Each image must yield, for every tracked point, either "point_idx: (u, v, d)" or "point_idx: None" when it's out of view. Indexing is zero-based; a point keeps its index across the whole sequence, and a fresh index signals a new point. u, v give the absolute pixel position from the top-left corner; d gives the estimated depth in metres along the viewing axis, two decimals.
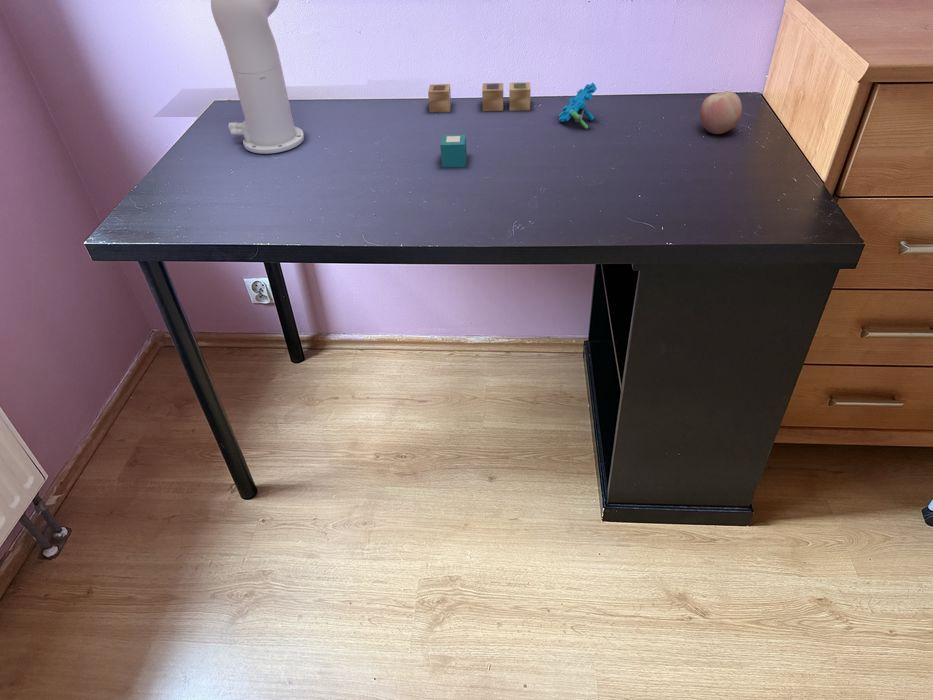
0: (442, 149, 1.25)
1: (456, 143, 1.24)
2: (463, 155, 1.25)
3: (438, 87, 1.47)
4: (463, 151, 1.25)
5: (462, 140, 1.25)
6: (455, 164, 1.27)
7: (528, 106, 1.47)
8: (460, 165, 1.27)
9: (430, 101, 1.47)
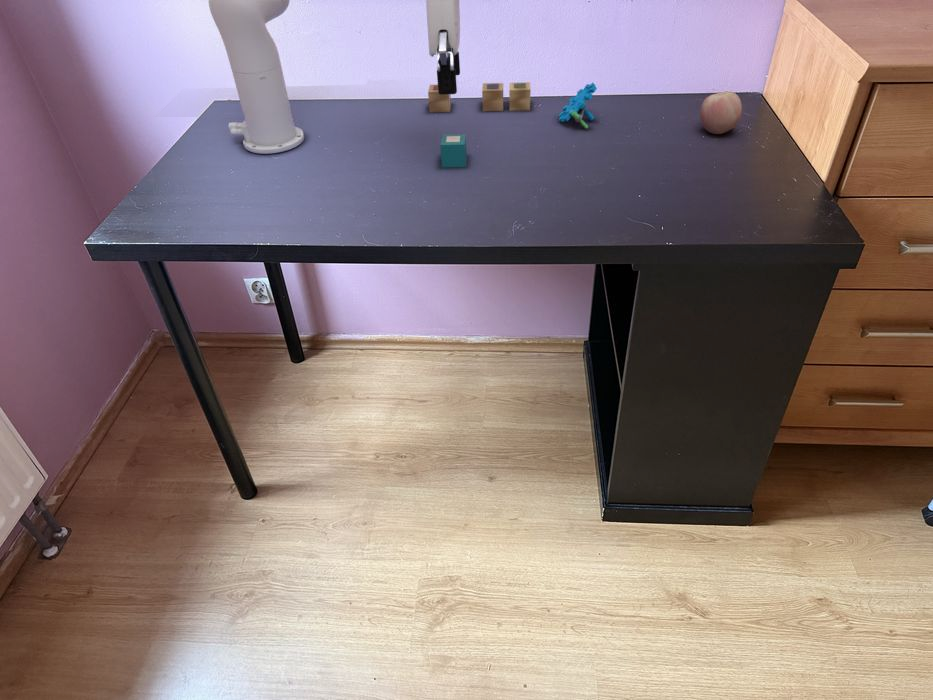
0: (442, 149, 1.25)
1: (456, 143, 1.24)
2: (463, 155, 1.25)
3: None
4: (463, 151, 1.25)
5: (462, 140, 1.25)
6: (455, 164, 1.27)
7: (528, 106, 1.47)
8: (460, 165, 1.27)
9: (430, 101, 1.47)
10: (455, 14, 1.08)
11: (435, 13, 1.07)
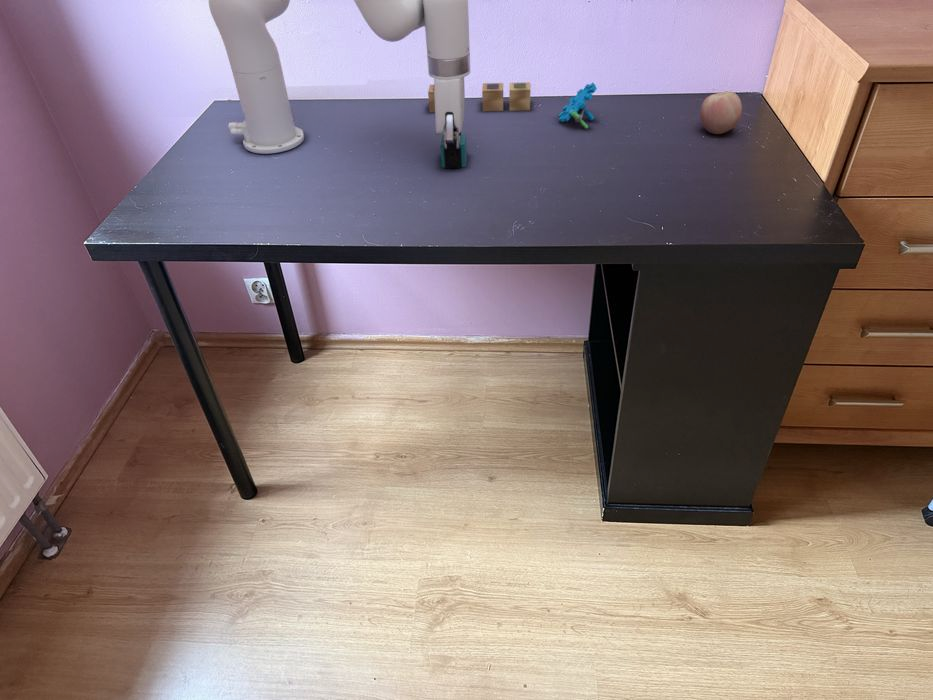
0: (442, 149, 1.25)
1: None
2: (463, 155, 1.25)
3: None
4: (463, 151, 1.25)
5: (462, 140, 1.25)
6: None
7: (528, 106, 1.47)
8: None
9: (430, 101, 1.47)
10: (461, 98, 1.17)
11: (442, 98, 1.16)
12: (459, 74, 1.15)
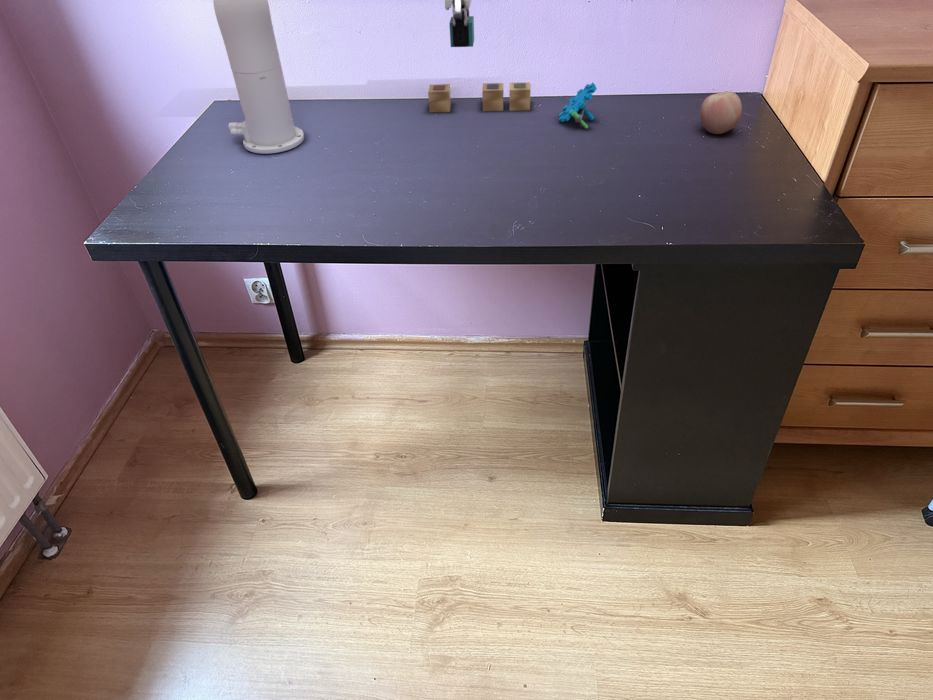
0: (451, 28, 1.33)
1: None
2: (471, 34, 1.33)
3: (438, 87, 1.47)
4: (471, 30, 1.33)
5: (470, 19, 1.33)
6: None
7: (528, 106, 1.47)
8: None
9: (430, 101, 1.47)
10: None
11: None
12: None
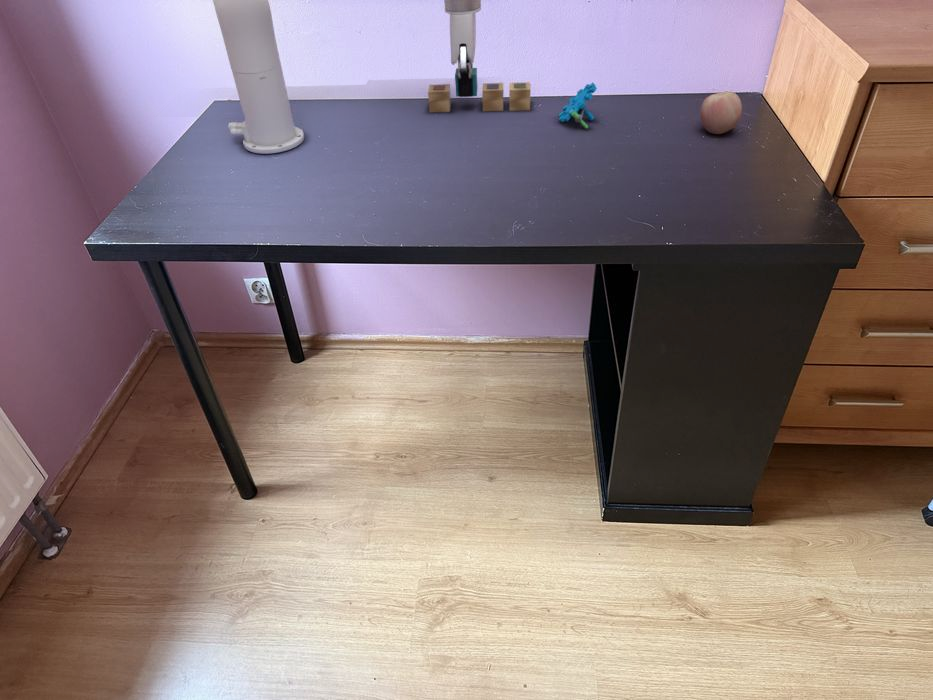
0: (456, 79, 1.44)
1: None
2: (475, 85, 1.44)
3: (438, 87, 1.47)
4: (475, 81, 1.44)
5: (474, 71, 1.44)
6: None
7: (528, 106, 1.47)
8: None
9: (430, 101, 1.47)
10: (473, 31, 1.36)
11: (457, 30, 1.35)
12: (471, 10, 1.34)
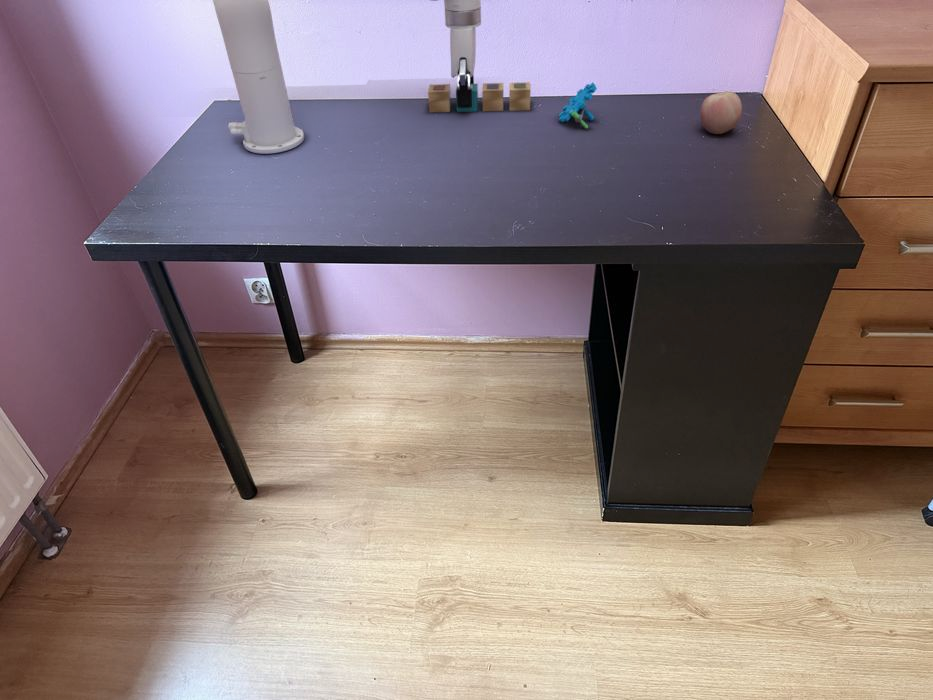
0: None
1: None
2: (475, 100, 1.46)
3: (438, 87, 1.47)
4: (475, 97, 1.46)
5: (474, 87, 1.46)
6: (468, 109, 1.48)
7: (528, 106, 1.47)
8: (472, 109, 1.48)
9: (430, 101, 1.47)
10: (473, 45, 1.37)
11: (457, 44, 1.36)
12: (472, 24, 1.35)
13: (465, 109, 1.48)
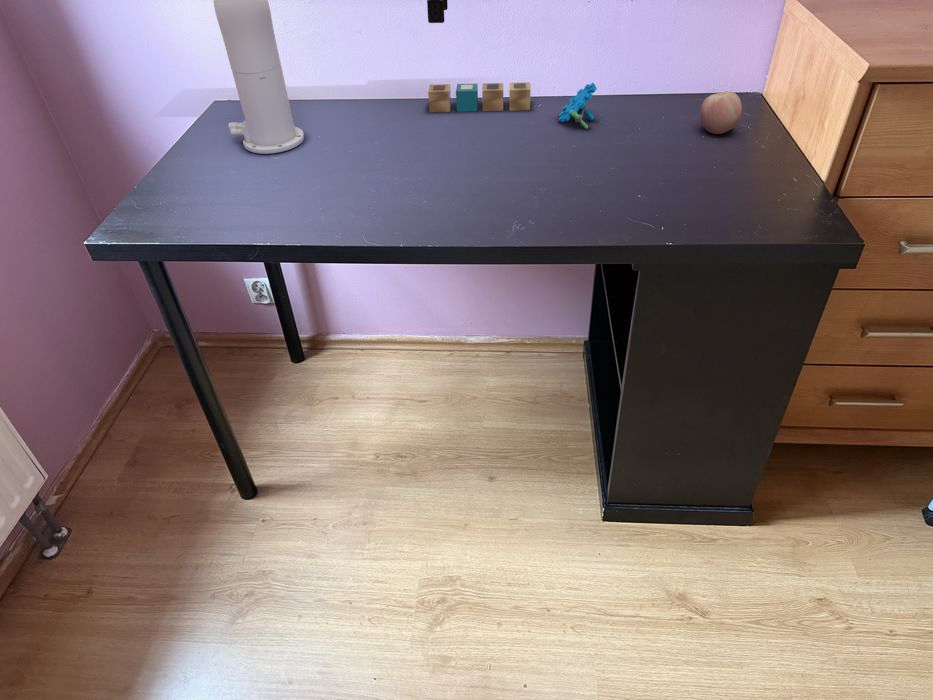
0: (457, 95, 1.46)
1: (469, 89, 1.45)
2: (475, 100, 1.46)
3: (438, 87, 1.47)
4: (475, 97, 1.46)
5: (474, 87, 1.46)
6: (468, 109, 1.48)
7: (528, 106, 1.47)
8: (472, 109, 1.48)
9: (430, 101, 1.47)
10: None
11: None
12: None
13: (465, 109, 1.48)
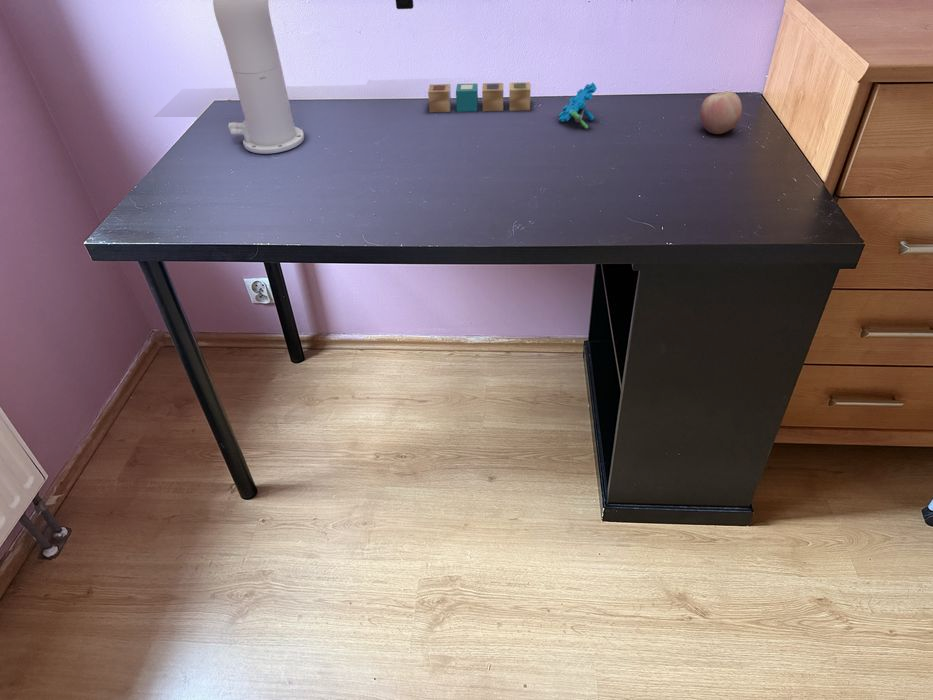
0: (457, 95, 1.46)
1: (469, 89, 1.45)
2: (475, 100, 1.46)
3: (438, 87, 1.47)
4: (475, 97, 1.46)
5: (474, 87, 1.46)
6: (468, 109, 1.48)
7: (528, 106, 1.47)
8: (472, 109, 1.48)
9: (430, 101, 1.47)
10: None
11: None
12: None
13: (465, 109, 1.48)
